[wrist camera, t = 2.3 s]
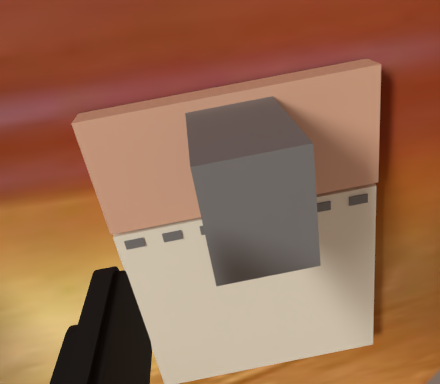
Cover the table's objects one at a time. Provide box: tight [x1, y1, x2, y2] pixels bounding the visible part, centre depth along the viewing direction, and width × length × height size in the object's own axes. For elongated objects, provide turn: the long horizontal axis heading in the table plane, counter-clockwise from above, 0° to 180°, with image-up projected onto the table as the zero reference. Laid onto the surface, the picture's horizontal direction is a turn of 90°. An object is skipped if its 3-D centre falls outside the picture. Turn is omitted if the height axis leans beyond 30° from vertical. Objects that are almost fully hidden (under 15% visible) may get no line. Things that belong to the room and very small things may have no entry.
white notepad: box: [113, 183, 377, 384], centre depth 25 cm, size 12×14×2 cm
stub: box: [71, 59, 381, 286], centre depth 17 cm, size 6×14×8 cm, turn 100°
